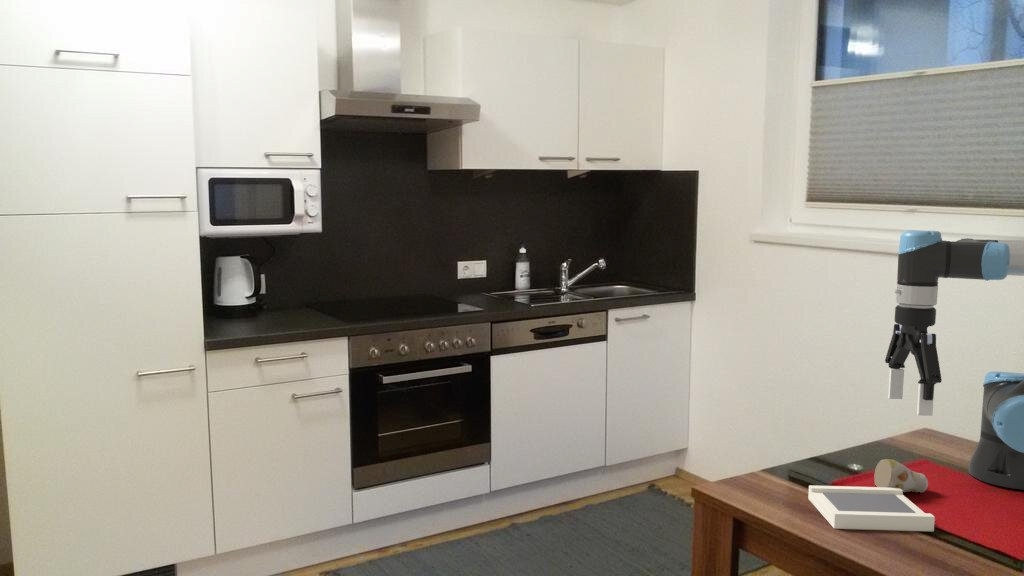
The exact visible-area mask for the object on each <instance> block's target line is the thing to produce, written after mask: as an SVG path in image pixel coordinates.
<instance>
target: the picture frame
mask: <svg viewBox="0 0 1024 576" xmlns="http://www.w3.org/2000/svg"><path fill="white" fill-rule="evenodd" d="M807 496H808V498H807V499H808V500H809V501H810V503H811V504H812V505H813V506H814V507H815V508H816V509H817V510H818V512H820V514H821V515H822V516H823V518H824V519H825V520H827V522H828V523H829V524H830V526H832V528H833V529H838V530H839V529H840V530H842V529H843V530H865V531H867V530H870V531H872V530H874V531H875V530H876V531H904V532H905V531H907V532H909V531H910V532H934V531H935V523H936V522H935V520H936V517H935V516H934V515H933V514H932V513H925V512H924V511H923V510H922V509H921V508H919V506H917V505H916V504H915V503H913V502H912V501H911V500H910V499H909V498H908V497H906V495H904V493H903V490H901V489H900V488H888V487H875V486H843V485H842V486H841V485H811V484H810V485H808V495H807Z"/></svg>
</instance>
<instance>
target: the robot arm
mask: <svg viewBox="0 0 1024 576" xmlns="http://www.w3.org/2000/svg"><path fill="white" fill-rule="evenodd" d="M897 254H898V257H897V279H896V289H894V293H895V294H896V295H895V296H896V297H895V302H896V303H897V304H898V305H896V306H895V307H894V322H895V324H894V325H893V331H892V335H891V336H892V337H891V339H890V343H889V346H888V349H887V353H886V355H885V360H884V361H885V364H888V368H889V377H888V378H889V379H888V391H887V392H888V395H887V396H888V397H887V398H888V399H889V400H903V393H904V379H905V377H904V376H905V368H906V366H905V363H906V361H907V358H908V357H909V355H910V354H912V355H913V356H914V360H915V363H916V366H917V370H918V374H919V378H920V379H919V380H918V381H917V384H918V390H917V391H918V392H917V403H916V404H917V407H916V415H917V416H926V417H927V416H928V417H929V416H931V417H932V416H933V413H934V412H933V411H934V410H933V409H934V399H935V397H934V395H935V385H936V384H941V383H942V381H943V380H942V375H941V368H940V362H939V355H938V351H937V334H936V333H928V328H929V327H933V326H935V324H936V319H937V318H936V317H937V309H936V307H934V306H936V305H937V304H938V293H939V292H938V291H939V279H940V278H943V279H948V278H949V279H960V280H961V279H964V280H983V281H987V282H988V281H994V280H995V281H1001V280H1004V279H1006V278H1007V277H1008V276H1016V277H1017V276H1019V277H1020V276H1021V277H1024V239H974V238H968V237H967V238H961V239H958V240H956V241H953V240H952V241H950V240H943V238H942V233H941V232H940V231H938V230H905V231H903V232H902V233H901V234H900V238H899V247H898V253H897ZM983 380H984V381H983V383H982V387H983V395H982V408H981V409H982V410H981V422H980V433H979V434H980V435H979V440H978V443H977V445H976V446H975V449H974V451H973V454H972V455H971V457H970V460H968V473H969V475H971V476H972V477H974V479H977V480H979V481H981V482H984V483H987V484H991V485H993V486H998V487H1002V488H1009V489H1014V490H1015V489H1017V490H1024V373H1022V372H1021V373H1020V372H1012V371H1011V372H1009V371H988V372H987V373H986V374H985V376H984V379H983Z"/></svg>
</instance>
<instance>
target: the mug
mask: <svg viewBox="0 0 1024 576" xmlns="http://www.w3.org/2000/svg"><path fill="white" fill-rule="evenodd" d="M873 480H874V486H875V485H876V486H877V487H888V488H900V489H901V490H903V492H904V493H908V492H911V491H912V492H914V493H918V492H920V494H922V493H924V492H926V491H927V489H928V486H929V480H928V477H926V475H925V474H924V473H921V472H917V471H913V470H911V469H909V467H907V466H905V465H904V464H902V463H900V461H897V460H895V459H890V458H889V459H888V458H885V459H884V458H883V459H881V460H879V462H877V465H876V467H875V470H874V475H873Z"/></svg>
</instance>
